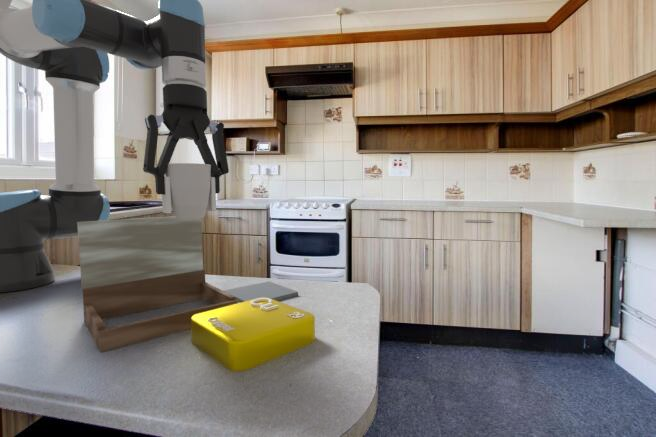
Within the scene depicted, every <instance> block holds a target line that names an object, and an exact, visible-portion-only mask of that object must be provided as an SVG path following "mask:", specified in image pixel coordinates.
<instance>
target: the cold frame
mask: <svg viewBox="0 0 656 437" xmlns="http://www.w3.org/2000/svg"><path fill="white" fill-rule="evenodd" d="M77 226H78V236H77V237H78V252H79V253H78V254H79V265H80V283H81V290H82V304H83V305H82V307H83V320H84V323H85V325H86V328H87V329H88V332H89V333H90V335H91V337H92V339H93V341H94V343H95V345H96V347H97V349H98V351H99V352H100V353H103V352H107V351H112V350H115V349H119V348H123V347H126V346H130V345H133V344H138V343H141V342H145V341H149V340H154V339H157V338H161V337H163V336H168V335H173V334H176V333H179V332H183V331H186V330H187V331H188V330H191V317H192V316H193V315H195V314H198V313H202V312H205V311H209V310H213V309H217V308H221V307H225V306H229V305H233V304H237V303H239V302H238V300H236V299H235V296H233V295H231V294H229V293H227V292H225V291H224V290H223V289H220V288H218V287H216V286H214V285H212V284H210V283H208V282H206V271H205V269H204V257H203V254H204V253H203V233H202V232H203V230H202V229H203V228H202V218H197V219H176V217H175V215H174V216H162V217H160V216H159V217H142V218H141V217H140V218H139V217H138V218H125V219H124V218H123V219H109V220H104V221H87V222H77ZM198 300H203V301H204V300H205V301H204V302H206V303H208V305H205V306H200V307H196V308H191V309H188V310H182V311H178V312H173V313H170V314H169V313H168V314H164V315H160V316H156V317H151V318H148V319H143V320H139V321H132V322H129V323H125V324H121V325H116V326H112V327H111V326H110V327H107V325H106V324H105V322H104V320H107V319H112V318H118V317H121V316H126V315H130V314H136V313H141V312H145V311H150V310H154V309H155V310H156V309H159V308H164V307H169V306H174V305H178V304H184V303H188V301H189V302H193V301H198ZM183 302H184V303H183ZM209 303H210V304H209Z"/></svg>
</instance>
